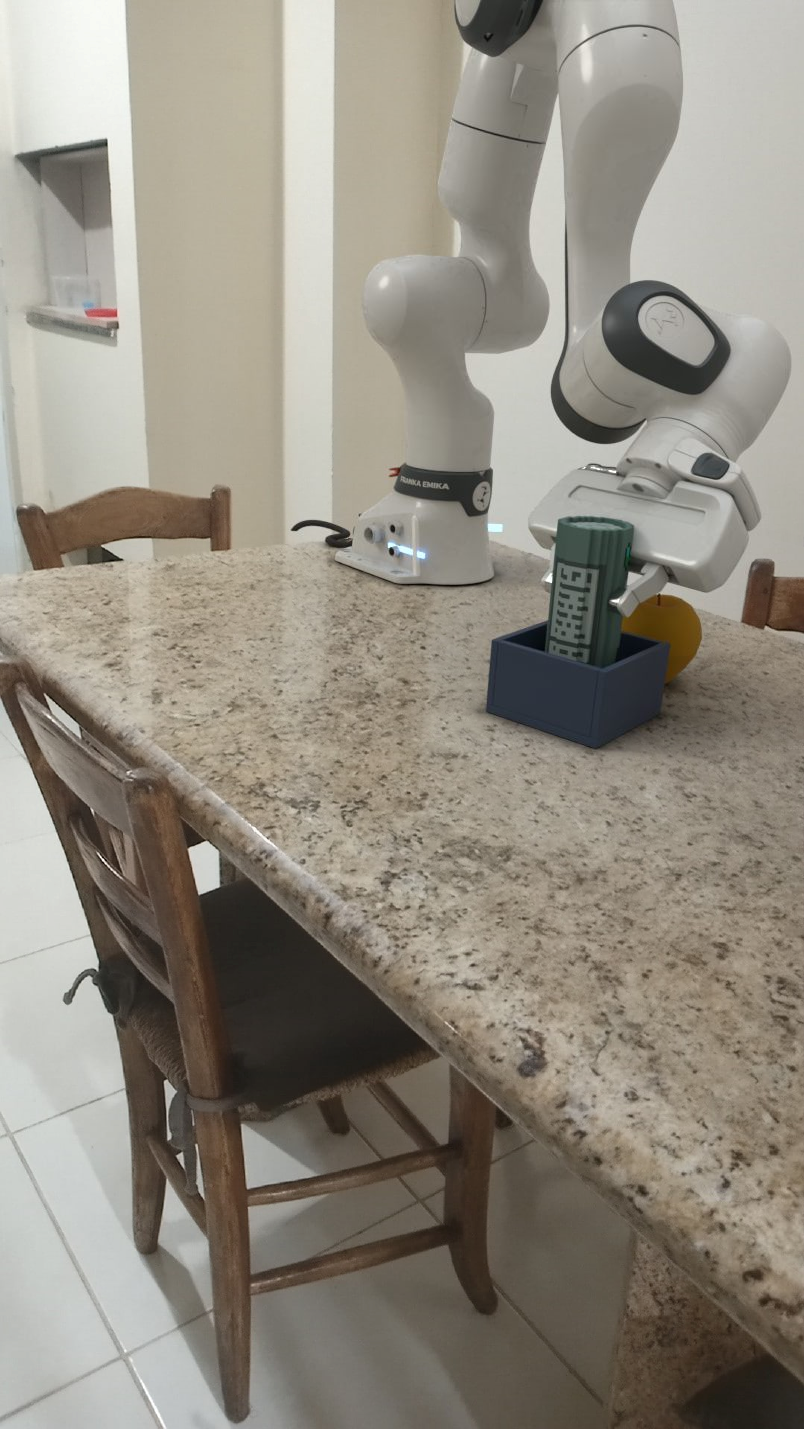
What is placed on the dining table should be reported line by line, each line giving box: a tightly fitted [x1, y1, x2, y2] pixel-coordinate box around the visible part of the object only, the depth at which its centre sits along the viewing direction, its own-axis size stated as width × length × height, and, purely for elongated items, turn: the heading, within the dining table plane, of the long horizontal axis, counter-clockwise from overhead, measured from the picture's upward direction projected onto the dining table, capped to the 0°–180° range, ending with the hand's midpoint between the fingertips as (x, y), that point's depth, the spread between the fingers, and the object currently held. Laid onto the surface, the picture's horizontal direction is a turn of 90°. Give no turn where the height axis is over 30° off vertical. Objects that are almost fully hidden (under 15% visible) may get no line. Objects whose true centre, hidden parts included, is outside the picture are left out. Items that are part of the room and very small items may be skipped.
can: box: [545, 516, 634, 669], centre depth 89 cm, size 6×6×15 cm
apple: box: [621, 592, 703, 684], centre depth 100 cm, size 9×9×9 cm
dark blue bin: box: [485, 619, 671, 750], centre depth 91 cm, size 11×11×7 cm
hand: (582, 600), depth 88 cm, fingers closed on can, 6 cm apart
